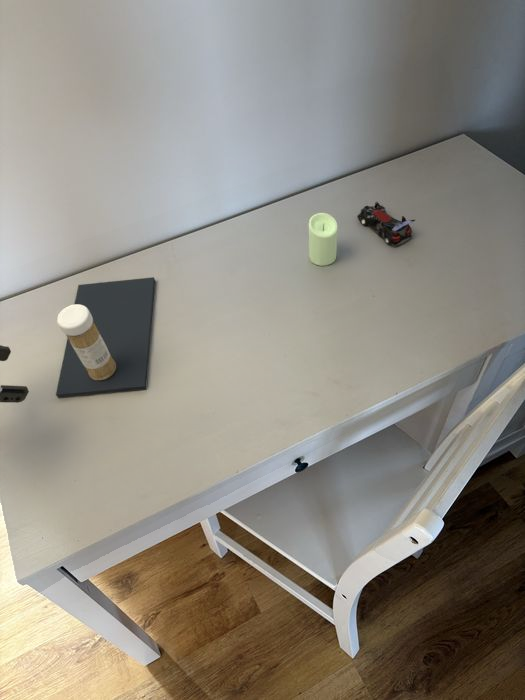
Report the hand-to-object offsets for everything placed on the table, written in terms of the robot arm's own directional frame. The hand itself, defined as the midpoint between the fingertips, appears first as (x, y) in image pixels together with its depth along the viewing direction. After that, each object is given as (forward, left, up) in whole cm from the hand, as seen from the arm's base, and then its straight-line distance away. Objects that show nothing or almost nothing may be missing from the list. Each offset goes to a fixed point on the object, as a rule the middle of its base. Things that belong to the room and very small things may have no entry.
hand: (17, 373), depth 76 cm
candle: (+48, -26, -9) cm, 55 cm away
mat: (+16, -1, -9) cm, 19 cm away
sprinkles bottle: (+9, -5, -8) cm, 13 cm away
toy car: (+60, -33, -9) cm, 69 cm away
